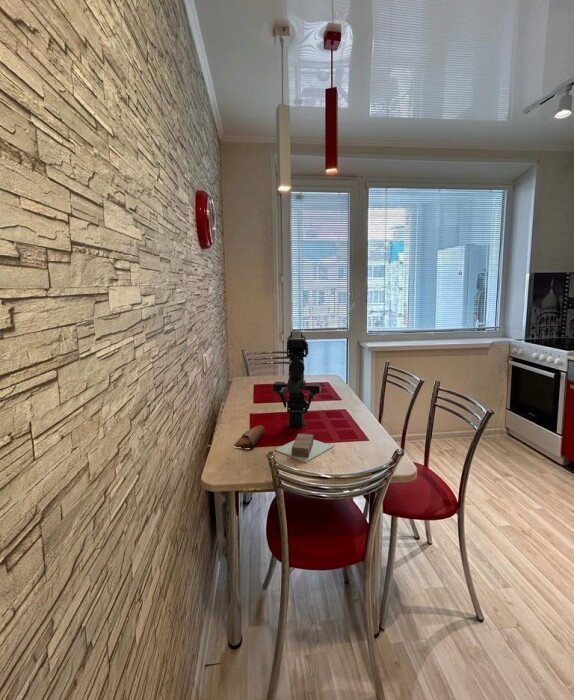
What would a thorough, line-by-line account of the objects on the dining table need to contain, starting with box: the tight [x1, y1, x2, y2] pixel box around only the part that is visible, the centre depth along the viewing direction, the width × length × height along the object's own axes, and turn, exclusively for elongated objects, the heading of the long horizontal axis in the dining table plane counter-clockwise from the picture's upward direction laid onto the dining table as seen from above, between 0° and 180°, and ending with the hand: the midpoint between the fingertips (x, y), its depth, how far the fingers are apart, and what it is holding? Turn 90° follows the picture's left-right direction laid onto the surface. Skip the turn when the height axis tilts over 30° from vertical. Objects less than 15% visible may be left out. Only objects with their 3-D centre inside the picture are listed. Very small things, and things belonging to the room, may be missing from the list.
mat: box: [274, 438, 335, 463], centre depth 140 cm, size 17×15×1 cm
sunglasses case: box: [233, 424, 266, 450], centre depth 148 cm, size 18×7×7 cm
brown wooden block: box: [292, 433, 314, 458], centre depth 138 cm, size 4×6×13 cm
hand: (296, 408), depth 147 cm, fingers open, 9 cm apart
